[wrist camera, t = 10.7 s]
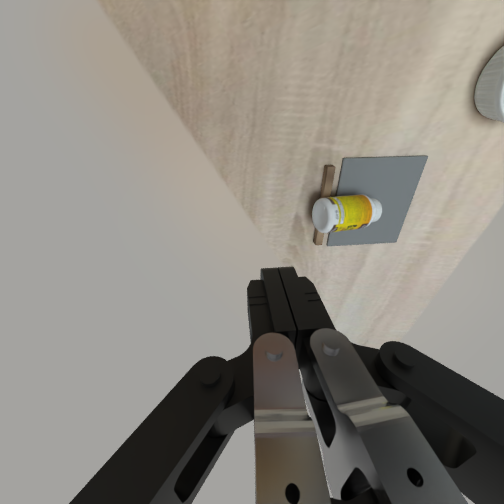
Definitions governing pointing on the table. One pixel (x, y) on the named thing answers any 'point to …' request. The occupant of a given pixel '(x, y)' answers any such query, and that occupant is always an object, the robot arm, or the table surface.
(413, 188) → the mat
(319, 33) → the table surface
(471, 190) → the table surface
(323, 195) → the rail
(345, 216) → the supplement bottle
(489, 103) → the ramekin
